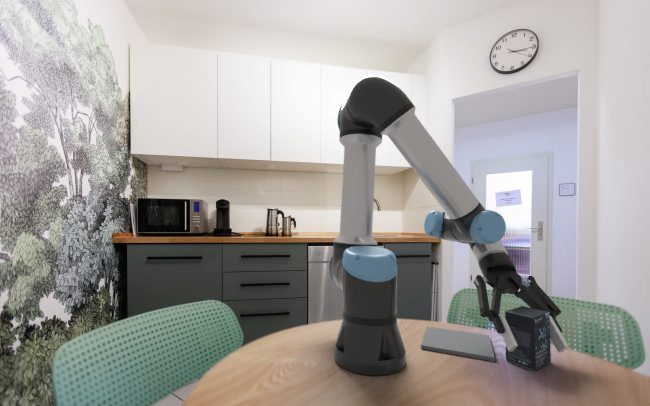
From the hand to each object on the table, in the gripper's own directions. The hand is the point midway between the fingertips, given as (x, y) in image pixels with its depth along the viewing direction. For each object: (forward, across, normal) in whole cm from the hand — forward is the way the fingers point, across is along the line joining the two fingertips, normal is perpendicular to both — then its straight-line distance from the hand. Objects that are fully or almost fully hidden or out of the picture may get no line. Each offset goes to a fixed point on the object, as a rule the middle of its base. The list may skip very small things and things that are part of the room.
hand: (538, 349), depth 60 cm
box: (+1, 0, -5) cm, 5 cm away
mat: (-6, +11, -12) cm, 17 cm away
